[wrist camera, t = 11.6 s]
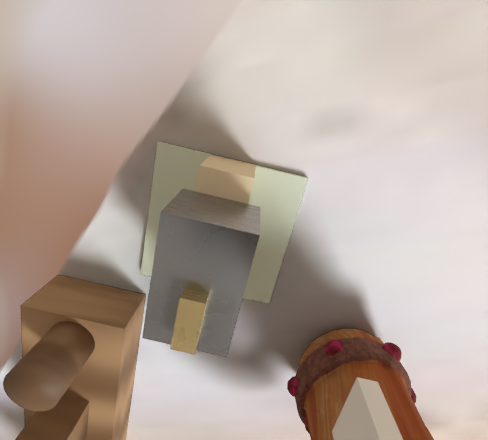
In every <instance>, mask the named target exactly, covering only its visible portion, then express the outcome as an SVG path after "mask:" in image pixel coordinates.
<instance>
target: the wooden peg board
mask: <svg viewBox="0 0 488 440" xmlns="http://www.w3.org/2000/svg"><path fill="white" fill-rule="evenodd" d="M145 297H146V295H145V294H141V293H136V292H132V291H128V290H123V289H119V288H114V287H110V286H106V285H101V284H97V283H93V282H88V281H84V280H79V279H75V278H71V277H66V276H62V275H57V276H56V277H55V278H53V279H52V280H51V281H50V282H49V283H47V284H46V285H45V286H44V287H43V288H41V289H40V290H39V291H38V292H36V293H35V294H34V295H33V296H32V297H30V298H29V299H28V300H27V301H26V302H25V303H23V304H22V305H21V327H22V328H21V330H22V359H21V360H20V361H19V362H18V363H17V365H16V366H15V367H14V368H13V369H12V370H11V371H10V372H9V373H8V374H7V375H6V376H5V378H4V381H3V386H4V390H5V392H6V394H7V395H8V397H9V398H10V399H11V400H12V401H13V402H15V403H16V404H18V405H19V406H21V407H23V408H24V418H25V427H24V429H23V430H22V431H21V433H20V434H19V435H18V437H17V438H16V440H126V434H127V426H128V419H129V412H130V405H131V398H132V390H133V383H134V376H135V369H136V362H137V354H138V347H139V340H140V333H141V326H142V318H143V311H144V304H145Z"/></svg>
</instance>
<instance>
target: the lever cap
mask: <svg viewBox="0 0 488 440" xmlns="http://www.w3.org/2000/svg"><path fill="white" fill-rule="evenodd" d="M259 237H260V207H259V206H255V205H250V204H246V203H242V202H238V201H234V200H229V199H225V198H221V197H217V196H213V195H209V194H204V193H200V192H196V191H192V190H188V189H182V190H181V191H180V192H179V193H178V194H177V195H176V196H175V197H174V198H173V199H172V200H171V201H170V202H169V203H168V204H167V206H166V207H165V208H164V209H163V210H162V211H161V212H160V219H159V226H158V233H157V240H156V247H155V254H154V261H153V268H152V275H151V282H150V289H149V296H148V303H147V310H146V317H145V324H144V331H143V338H145V339H149V340H154V341H158V342H163V343H167V344H171V348H170V349H173V350H177V351H182V352H186V353H191V354H195V351H196V350H198V351H203V352H207V353H212V354H216V355H221V356H225V357H227V354H228V350H229V346H230V343H231V339H232V335H233V332H234V328H235V324H236V321H237V317H238V313H239V310H240V306H241V302H242V299H243V295H244V291H245V288H246V284H247V280H248V277H249V273H250V270H251V266H252V262H253V259H254V255H255V251H256V248H257V244H258V240H259Z"/></svg>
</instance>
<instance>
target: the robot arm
mask: <svg viewBox="0 0 488 440" xmlns="http://www.w3.org/2000/svg"><path fill="white" fill-rule="evenodd" d="M332 434H333V438H334V440H403V438H402V436H401V434H400V431H399V429H398V427H397V424H396V422H395V420H394V418H393V415H392V413H391V411H390V409H389V406H388V404H387V402H386V399H385V397H384V395H383V393H382V390H381V388H380V386H379V384H378V382H376V381H372V380H367V379H363V378H358V377H357V378H356V380H355V383H354V385H353V387H352V389H351V391H350V393H349V395H348V398H347V400H346V402H345V404H344V406H343V408H342V411H341V413H340V415H339V417H338V419H337V421H336V424H335V426H334V428H333V430H332Z"/></svg>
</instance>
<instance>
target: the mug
mask: <svg viewBox="0 0 488 440" xmlns="http://www.w3.org/2000/svg"><path fill="white" fill-rule="evenodd" d="M400 359H401V350H400V348H399V347H398V346H397V345H395V344H393V343H385V344H384V343H383V342H382V341H381V340H380V339H379V338H377V337H375V336H373V335H371V334H369V333H366V332H364V331H362V330H358V329H339V330H334V331H330V332H328V333H326V334H324V335H323V336H321V337H319V338H317V339H316V340H314V341H312V343H311V344H310V345H309V347H308V348H307V349H306V350H305V352H304V354H303V355H302V357H301V360H300V365H299V369H298V371H297V374H296V376H295V377H292V378H291V379H290V380H289V381H288V388H287V389H288V391H289V393H290V394H291V395H292V396H294V397H295V399H296V404H297V410H298V413H299V416H300V418H301V420H302V422H303V423H304V424H305V428H306V430H307V431H308V433H309V434H310V436H311V440H334V438H333V434H332V430H333V428H334V426H335V424H336V421H337V419H338V417H339V415H340V413H341V411H342V408H343V406H344V404H345V402H346V400H347V398H348V395H349V393H350V391H351V389H352V387H353V385H354V383H355V380H356V378H357V377H358V378H363V379H367V380H372V381H376V382H378V384H379V386H380V388H381V390H382V393H383V395H384V397H385V399H386V402H387V404H388V406H389V409H390V411H391V413H392V415H393V418H394V420H395V422H396V424H397V427H398V429H399V431H400V434H401V436H402V438H403V440H434V439H433V437H432V435H431V434H430V432H429V431H428V429H427V427H426V426H425V424H424V422H423V420H422V418H421V416H420V414H419V412H418V410H417V408H416V406H415V404H414V403H415V402H416V395H415V393H414V391H413V389H412V388H411V382H410V379H409V376H408V374H407V372H406V370H405V369H404V367H403V366H402V364H401V363H400Z"/></svg>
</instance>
